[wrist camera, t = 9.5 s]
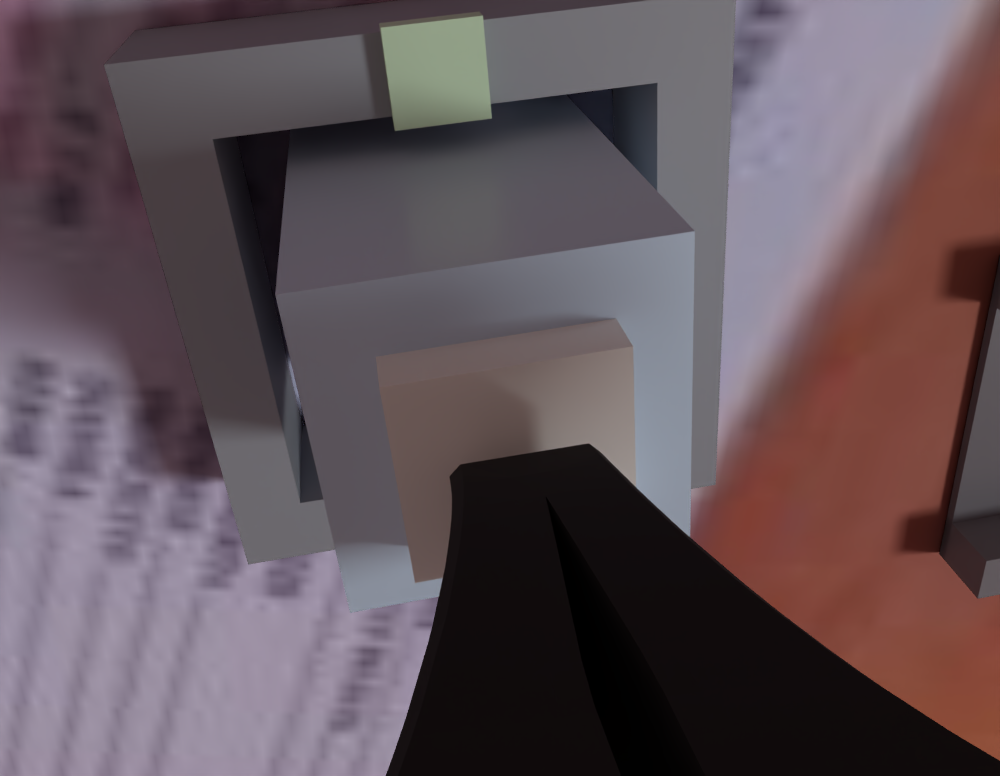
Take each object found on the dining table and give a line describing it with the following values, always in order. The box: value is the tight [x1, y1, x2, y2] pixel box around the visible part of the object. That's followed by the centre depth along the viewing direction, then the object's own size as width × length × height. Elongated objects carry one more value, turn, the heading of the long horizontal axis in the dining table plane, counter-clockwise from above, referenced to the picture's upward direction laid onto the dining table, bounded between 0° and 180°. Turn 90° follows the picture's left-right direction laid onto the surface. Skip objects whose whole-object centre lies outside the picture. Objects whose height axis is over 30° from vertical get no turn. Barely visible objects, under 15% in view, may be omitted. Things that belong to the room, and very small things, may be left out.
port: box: [104, 0, 736, 564], centre depth 14 cm, size 8×8×2 cm
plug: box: [275, 94, 695, 613], centre depth 12 cm, size 4×4×7 cm
